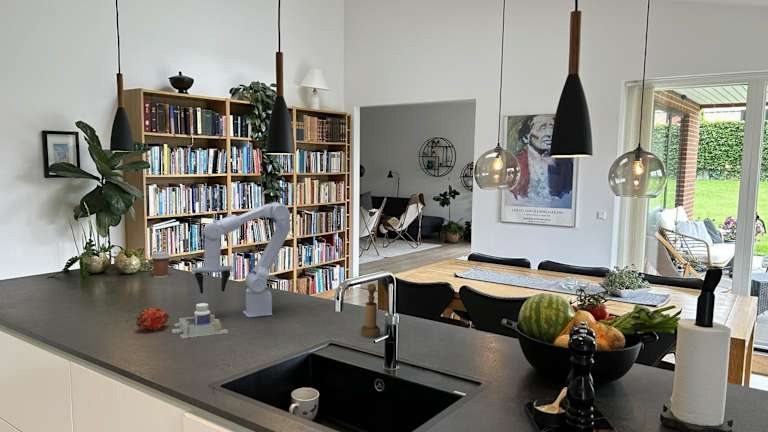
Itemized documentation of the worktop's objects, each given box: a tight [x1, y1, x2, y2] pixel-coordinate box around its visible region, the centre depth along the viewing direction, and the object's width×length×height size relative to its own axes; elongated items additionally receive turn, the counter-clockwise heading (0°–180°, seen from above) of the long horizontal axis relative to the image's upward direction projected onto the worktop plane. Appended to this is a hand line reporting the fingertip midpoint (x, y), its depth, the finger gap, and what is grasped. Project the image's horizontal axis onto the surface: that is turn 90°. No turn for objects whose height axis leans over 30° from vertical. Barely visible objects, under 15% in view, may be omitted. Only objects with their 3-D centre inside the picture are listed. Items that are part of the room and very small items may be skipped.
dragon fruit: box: [136, 306, 170, 332], centre depth 186 cm, size 8×8×12 cm
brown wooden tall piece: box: [360, 283, 381, 339], centre depth 187 cm, size 7×6×18 cm
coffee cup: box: [150, 251, 171, 279], centre depth 270 cm, size 9×9×12 cm
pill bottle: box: [193, 302, 211, 325], centre depth 188 cm, size 5×5×9 cm
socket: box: [171, 314, 229, 339], centre depth 188 cm, size 17×16×3 cm
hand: (212, 291), depth 201 cm, fingers open, 7 cm apart
